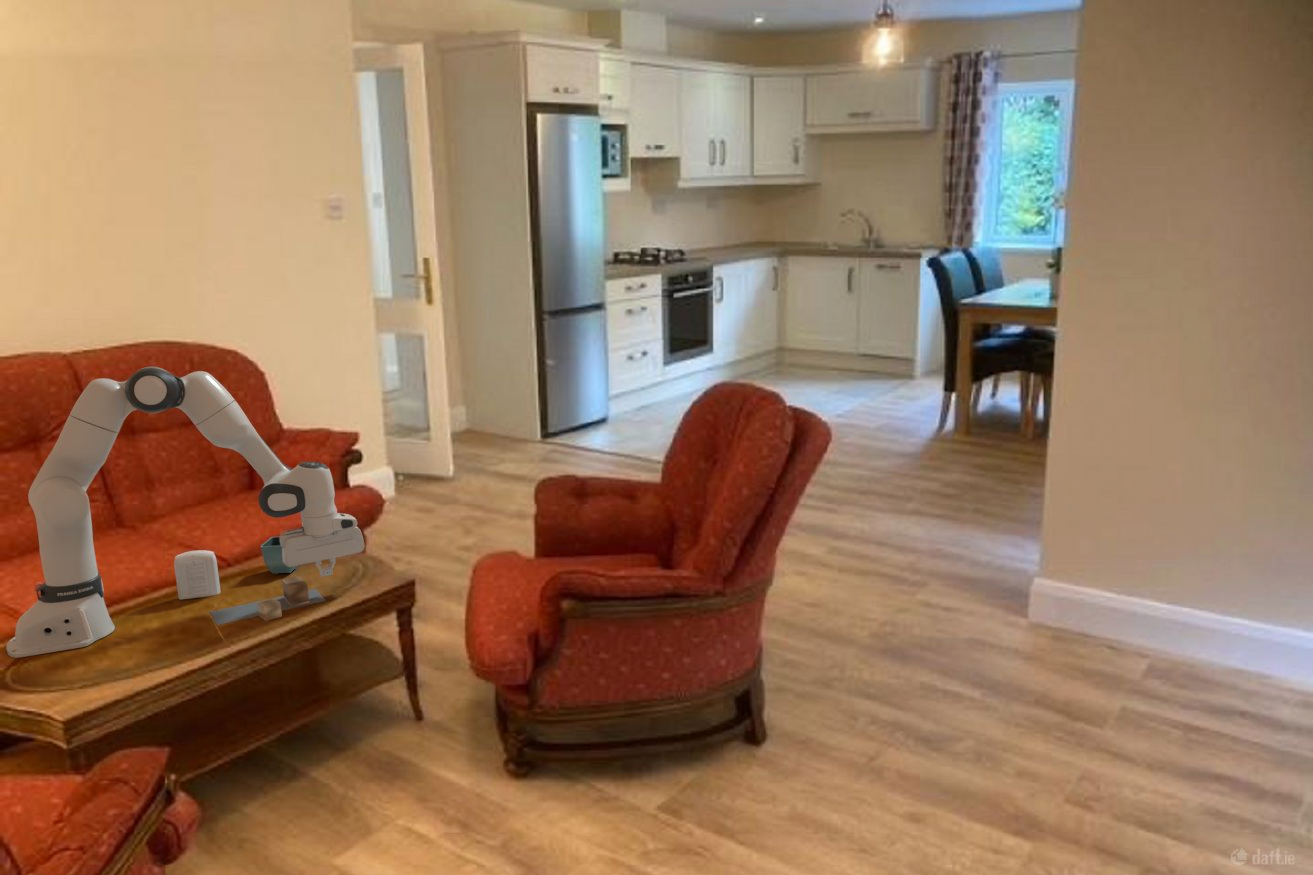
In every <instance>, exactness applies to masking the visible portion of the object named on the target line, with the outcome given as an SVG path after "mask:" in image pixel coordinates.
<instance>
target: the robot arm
mask: <svg viewBox="0 0 1313 875" xmlns="http://www.w3.org/2000/svg"><path fill="white" fill-rule="evenodd" d="M173 408H177V409H179V410H181V411H182V412H183V413H184V414H185V415H186V416H187V417H188V418H189V419H190V420H191V422H192V423H193V425H194V426H195V428H196V429H197V430H198V431H199V433H201V435H202V436H203V437H204V438H205V439H207V441H209V442H210V443H211V444H213V446H215V447H219V448H222V449H223V448H224V449H229V450H233V451H235V452H237V453H238V454H240V455H241V456H243V458H244V459H245V460H246V461H247V462H248V463H249V464H250V465H251V466H252V468H253V469H254V470H255V472H256V473H257V474H258V475H259V477H261V479H262V482H263V484H264V485H263V486H262V488H261V490H260V491H259V494H258V498H257V499H258V501H257V502H258V505H259V507H260V509H261V511H262V512H263V513H264V514H265V515H267V516H268V517H271V518H276V519H279V518H284V517H285V518H286V517H288V516H293V515H296V514H299V513H300V518H301V526H302V527H297V528H293V529H287V530H284V532H282V533H281V534H280V536H279V537H280V538H279V540H280V546H281V547H282V558H283V563H284V564H285V565H286V566H288V567H293V566H301V565H306V564H311V563H313V564H314V565H315V566H316V567H317V568H318V570H319V575H320V577H321V578H322V577H327V576H332V575H333V576H334V570H333V569H334V567H335V565H336V563H337V558H338V557H345V556H349V555H353V554H358V553H362V552H363V551H364V549H365V542H364V537H363V533H362V531H361V529H360V528H359V527H358V521H357V519H356V517H354V516H353V515H351V514H348V513H342V512H338V509H337V506H336V504H335V496H336V494H335V493H336V492H335V491H336V490H335V485H334V480H333V476H332V472H331V470H330V467H329V466H327V465H326V464H325V463H322V462H319V461H303V462H299V463H298V464H297V465H296V466H295V467H294V468H292V467H290V466H288V465H286V463H284V462H283V461H282V460H281V459H280V458H279V457H278V456H277V454H276V453H275V452H274V451H273V450H272V448H271V447H270V446H269V445H268V443H266V441H265V440H264V438H262V436H261V435H260V434H259V433H258V432H257V430H256V429H255V427H254V426H253V425H252V422H250V420H249V418H248V417H247V415H246V414H245V412H244V411H243V409H242V407H241V406H240V404H239V403H238V402H237V401H236V399H235V398H234V397H233V396H232V395H231V393H230V392H229V391H228V390H227V388H226V387H224V385H223V384H221V383H220V382H219V381H218V380H217V378H215V377H214V376H213V375H212V374H211V373H210V372H207V371H202V370H197V371H193V372H191V373H188V374H186V375H185V376H181V377H180V376H177V375H175V374H172V373H170V372H169V370H166V369H164V368H162V367H158V366H147V367H143V368H139V369H138V370H136V371H135V372H134V373H132V374H131V375H130V377H129V378H127V379H126V380H125V381H124V380H123V381H117V380H114V379H111V378H103V377H102V378H96V379H93V380H91V381H90V382H89V383H88V384H87V385H86V387H85V388H84V389H83V391H82V392H81V394H80V396H79V397H78V399H77V401H76V402H75V403H74V405H73V407H72V409H71V411H70V413H69V415H68V416H67V418H66V421H65V423H64V425H63V428H62V429H61V431H60V434H59V436H58V438H57V440H56V443H55V444H54V447H53V448H52V450H51V451H50V452H49V454H48V456H47V458H46V459H45V461H44V462H43V464H42V466H41V467H40V469H39V471H38V472H37V475H36V476H35V479H33V482H32V484H31V486H30V488H29V490H28V494H27V496H28V497H27V498H28V503H29V505H30V507H31V509H32V511H33V513H34V516H35V522H36V523H35V524H36V529H37V530H36V531H37V536H38V546H39V556H40V560H41V566H42V572H43V577H44V578H43V579H44V583H42V582H39V581H38V582H36V583H34V585H33V586H34V587H33V588H34V592H36V598H37V601H36V602H35V603H34V604H33V605H32V606H31V607H29V609H28V610H26V612H24V613H22V615H21V616H20V617H19V618H18V619H17V623H16V625H15V633H14V635H15V636H14V637H12V638H11V639H9V641H7V643H6V653H7V655H8V656H9V657H11V658H15V659H18V658H24V657H31V656H37V655H42V654H49V653H54V652H61V651H67V650H74V649H79V648H84V647H87V646H90V645H91V644H93V643H94V642H95V641H98V640H100V639H102V638H104V637H107V636H109V635H110V634H111V633H113V632H114V630H116V626H115V624H114V623H113V620H112V618H111V617H110V614H109V611H108V608H107V605H106V602H105V598H104V597H105V596H104V595H105V594H104V593H105V590H104V584H103V579H102V577H101V573H100V572H99V571H98V570H99V569H98V566H97V565H98V564H97V558H96V553H95V546H94V540H93V539H94V537H93V536H94V535H93V524H92V513H91V507H90V506H91V505H90V504H91V503H90V499H89V496H88V493H87V490H88V488H89V486H90V485H91V484H92V482H93V480H94V479H95V478H96V475H97V474H98V472H99V470H100V469H101V468H102V467H103V466H104V464H105V463H106V461H107V459H108V456H109V454H110V453H111V450H112V448H113V446H114V444H115V441H116V439H117V437H118V435H119V433H120V430H121V429H122V427H123V423H124V422H125V420H126V418H127V417H128V415H130V414H131V413H132V412H134V411H136V410H137V411H140V412H143V413H147V414H158V413H161V412H164V411H167V410H171V409H173ZM325 560H326V561H327V560H328V561H329V563H328V566H327V567H324V568H323V567H322V564H323V563H322V561H325Z"/></svg>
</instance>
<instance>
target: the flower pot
mask: <svg viewBox="0 0 1313 875" xmlns="http://www.w3.org/2000/svg"><path fill="white" fill-rule="evenodd" d="M279 538H280V536H271V537H270V538H268V539H267V541H265V542H264V543H262V544H261V545H260V546H259V548H260V550H261V554H262V557H263V558H262V559H263V561H264V564H265V566H266V567H267V569H268V570H269V572H271V573H272V574H273V573H290V574H291V572H292V571H293V570H294V569H295V570H296V569H297V568H298V566H299V565H298V566H293V567H288V566H286V565H285V564H284V563H283V558H282V547H281V546H280V540H279ZM295 570H294V571H295ZM294 571H293V572H294ZM293 572H292V573H293Z"/></svg>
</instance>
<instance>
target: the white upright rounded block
mask: <svg viewBox="0 0 1313 875" xmlns="http://www.w3.org/2000/svg"><path fill="white" fill-rule="evenodd" d="M173 566H174V574H175V581H176V588H177V590H176V591H177V595H178V596H177V597H178V600H189V599H195V598H205V597H211V596H212V597H213V596H217V595H219V594H221V586H220V585H221V584H220V577H219V569H218V562H217V557H216V555H215V552H214V551H212V550H203V549H198V550H191V551H185V552H181V553H180V554H177V555H175V557H174V562H173Z"/></svg>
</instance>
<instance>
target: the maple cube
mask: <svg viewBox="0 0 1313 875" xmlns="http://www.w3.org/2000/svg"><path fill="white" fill-rule="evenodd" d="M269 599H270V600H267V601H263V602H259V603H258V609H259V616H258V617H259V618H261V619H262V620H264V621H265V622H267V621H271V620H273V619H277V618H281V617H282V616H283V613H282V611H281V605H280V602H279V601H277V600H275V599H271V598H269Z"/></svg>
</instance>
